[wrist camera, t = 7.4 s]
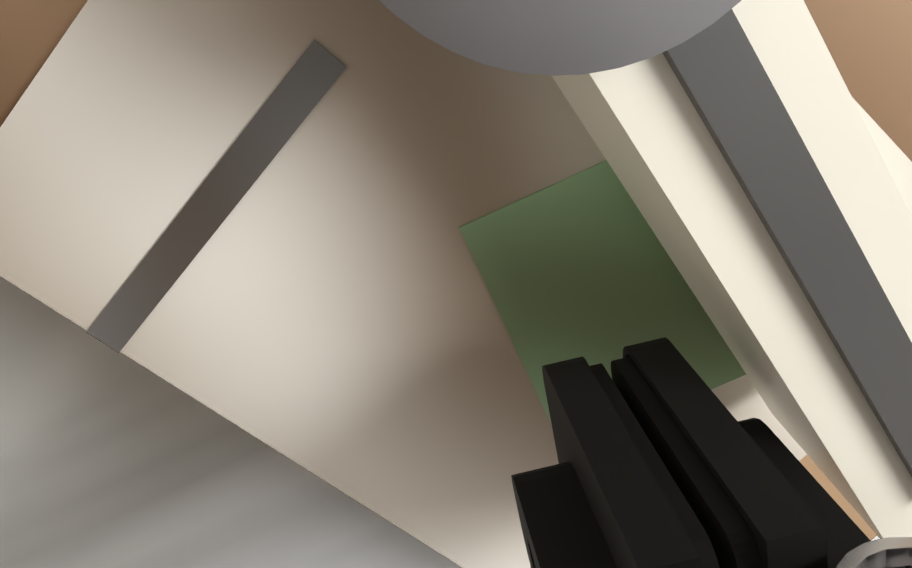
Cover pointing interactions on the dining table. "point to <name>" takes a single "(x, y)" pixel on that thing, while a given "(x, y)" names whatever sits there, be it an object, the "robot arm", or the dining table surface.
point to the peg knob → (744, 200)
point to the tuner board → (360, 234)
